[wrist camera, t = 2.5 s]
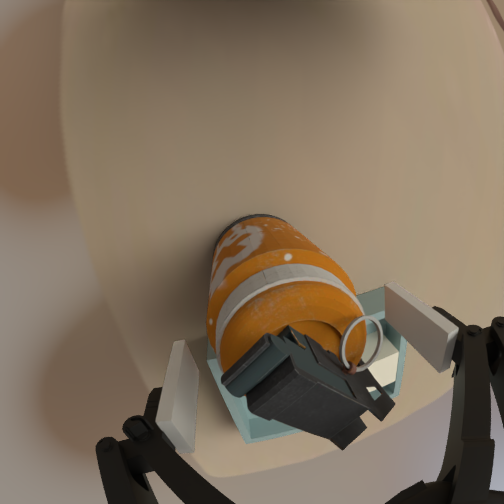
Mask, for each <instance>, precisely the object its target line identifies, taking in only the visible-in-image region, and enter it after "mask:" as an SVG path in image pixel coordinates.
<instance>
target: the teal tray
mask: <svg viewBox="0 0 504 504" xmlns="http://www.w3.org/2000/svg"><path fill="white" fill-rule="evenodd" d="M356 298H357V299H358V300H359V302H360V304H361V306H362V307H363V310H364V313H365V315H368V316H373V317H375V318H376V319H377V320H378V321H379V322H380V324H381V327H382V330H383V334H384V336H385V337H386V338H387V339H388V340H389V341H390V342H391V343H392V344H393V346H394V347H395V348H396V349H397V350H398V351H399V356H398V364H397V372H396V379H395V381H394V382H392V383H390V384H388V385H385V386H383V387H382V388H383V389H384V390H385V391H386V393H387V394H388V395H389V396H390V398H391V399H392V398H394V397H396V396H398V395H399V392H400V387H401V381H402V375H403V369H404V362H405V354H406V346H407V340H406V339H405V338H404V337H403V336H402V335H401V334H400V333H398V332H397V331H396V330H395V329H394V328H393V327H392V326H391V325H390V324H389V323H388V322H387V321H386V320H385V288H384V287H381V288H378V289H375V290H373V291H370V292H367V293H364V294H361V295H358V296H356ZM366 324H367V329H366V331H367V334H370V333H373V332H375V331H377V329H376V326H375V324H374V323H373V322H372V321H370V320H368V319H366ZM207 362H208V365H209V367H210V370H211V372H212V374H213V376H214V379H215V381H216V383H217V385H218V388H219V390H220V392H221V394H222V396H223V399H224V401H225V403H226V405H227V407H228V409H229V411H230V413H231V415H232V418H233V420H234V422H235V424H236V426H237V428H238V430H239V432H240V434H241V436H242V438H243V439H244V441H245V443H246V444H248V443H254V442H259V441H264V440H269V439H273V438H278V437H282V436H286V435H290V434H294V433H298V432H301V431H302V430H299V429H297V428H294V427H291V426H289V425H286V424H283V423H281V422H278V421H276V420H273V419H272V420H270V421H268V420H265V419H263V418H261V417H258V416H256V415H253V414H251V412H250V411H249V410H248V408H247V400H246V397H245V396H243V397H241V398H237V397H235V396H233V395H231V394H230V393H229V392H228V391H227V389H226V388H225V386H224V385H222V384H221V376H222V375H223V374H222V372H221V370H220V368H219V365H218V362H217V357H216V354H215V352H214V350H213V348H212V346H211V345H210V342H209V338H208V346H207ZM369 393H370V394H371V396H372V398H373V399H374V400H376V399H377V398H378V397H379V396H380V395H381V393H380V392H379V391H378V390H377V389H376V390H374V391H371V392H369Z"/></svg>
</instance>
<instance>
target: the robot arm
mask: <svg viewBox="0 0 504 504" xmlns="http://www.w3.org/2000/svg"><path fill="white" fill-rule="evenodd" d="M384 288H385V320H386V321H387V322H388V323H389V324H390V325H391V326H392V327H393V328H394V329H395V330H396V331H397V332H398V333H400V334H401V335H402V336H403V337H404V338H405V339H406V340H407V341H408V342H409V343H410V344H411V345H412V346H413V347H414V348H415V349H416V350H417V351H418V352H419V353H420V354H421V355H422V356H423V357H424V358H425V359H426V360H427V361H428V362H429V363H430V364H431V365H432V366H433V367H434V368H435V369H436V370H437V371H438V372H439V373H442V372H444V371H445V370H447V369H448V368H450V364H451V361H452V360H453V361H454V362H455V363H456V364H455V367H454V371H453V374H452V377H454V388H453V401H452V411H451V420H450V428H449V434H448V440H447V445H446V451H445V456H444V460H443V465H442V469H441V471H440V473H439V476H438V478H437V481H435V482H429V483H425V484H424V482H423V481H422V480H421V481H420V482H418V483H416V484H414V485H412V486H411V487H409V488H407V489H405V490H403V491H401V492H400V493H398V494H397V495H396V496H394V497H393V498H392V499H390V500H389V501H388V502H386V503H385V504H504V491H495V490H489V487H490V482H491V475H492V467H493V459H494V448H495V441H494V439H491V438H490V430H491V429H490V428H491V395H490V383H491V386H492V389H493V392H494V395H495V398H496V401H497V405H498V408H499V412H500V415H501V419H502V423H503V427H504V317H496V318H494V319H493V320H492V323H491V326H490V327H486V328H483V329H482V328H481V327H479V326H477V325H468V326H466V325H465V324H463V323H462V322H460V321H459V320H458V319H456V318H455V317H454V316H452V315H451V314H449V313H448V312H446V311H445V310H444V309H442V308H439V307H436V306H434V307H432V308H431V307H430V306H429V305H427V304H426V303H424V302H423V301H421V300H420V299H419V298H417V297H416V296H414V295H413V294H412V293H410V292H409V291H407V290H406V289H404V288H403V287H401V286H400V285H398V284H397V283H396V282H394V281H393V282H390V283H387V284H384ZM198 384H199V370H198V368H197V365H196V363H195V361H194V359H193V356H192V354H191V352H190V349H189V347H188V345H187V342H186V340H185V339H184V340H179V341H174V343H173V347H172V351H171V355H170V359H169V363H168V367H167V371H166V375H165V380H164V384H163V387H160V388H154V389H153V390H152V391H151V393H150V394H149V397H148V400H147V404H146V409H145V413H144V416H140V415H136V416H132V417H130V418H128V419H127V420H126V421H125V423H124V424H123V428H122V429H123V432H124V433H125V435H126V436H127V437H128V438H129V439H126V440H122V441H119V442H118V441H116V439H114V438H113V437H104V438H103V439H101V440H100V441H99V442H98V443H97V445H96V454H97V460H98V465H99V470H100V474H101V478H102V482H103V486H104V490H105V494H106V498H107V501H108V504H158V502H157V499H156V497H155V495H154V493H153V491H152V489H151V486H150V484H149V481H148V479H147V477H146V474H145V473H148V472H152V471H155V472H156V473H157V474H158V476H160V478H161V479H162V480H163V481H164V482H165V483H166V485H167V486H168V487H169V488H171V490H172V491H173V492H174V493H175V494H176V495H177V496H178V497H179V498H180V499H181V500H182V501H183V502H184V503H185V504H235V503H234V502H233V501H231V500H230V499H229V498H227V497H226V496H225V495H223V494H222V493H221V492H220V491H218V490H217V489H216V488H215V487H214V486H212V485H211V484H210V483H209V482H207V481H206V480H205V479H204V478H203V477H202V476H201V475H199V474H198V473H197V472H196V471H195V470H194V469H193V468H192V467H191V466H190V465H188V463H186V462H185V461H184V460H183V459H182V458H181V457H180V456H179V455H178V454H177V453H176V452H175V448H176V449H177V450H178V452H179V453H194V450H195V430H196V413H197V398H198Z"/></svg>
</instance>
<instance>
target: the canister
mask: <svg viewBox="0 0 504 504" xmlns="http://www.w3.org/2000/svg"><path fill="white" fill-rule="evenodd" d="M366 319H368V320H370V321H372V322H373V323H374V324H375V326H376V329H377V333H378V341H377V346H376V349H375V351H374V353H373V355H372V357H371V358H370V359H369V360H368V361H367V362H366V363H364V362H363V361H362V359H361V357H362V354H363V352H364V348H365V344H366V336H367V331H366V329H367V324H366ZM206 327H207V335H208V338H209V342H210V345H211V346H212V348H213V350H214V352H215V354H216V357H217V362H218V365H219V368H220V370H221V372H222V374H223V375H222V376H221V384H222V385H224V386H225V388H226V389H227V391H228V392H229V393H230V394H231V395H233V396H235V397H237V398H241V397H243V396H245V397H246V400H247V408H248V410H249V411H250V412H251V414H253V415H256V416H258V417H261V418H263V419H265V420H268V421H270V420H272V419H273V420H276V421H278V422H281V423H283V424H286V425H289V426H291V427H294V428H297V429H299V430H302V431H305V432H308V433H311V434H314V435H317V436H320V437H323V438H326V439H329V440H330V441H332V442H333V443H334V444H335V445H336V446H337V447H339V448H340V449H341V450H344V449H345V448H346V447H347V446H348V445H349V444H350V443H351V442H352V441H353V440H355V439H356V438H357V437H358V436H359V435H360V434H361V433H362V432H363V431H364V430H365V429H366V428H367V427H366V425H365V424H364V422H363V421H362V420H361V418H360V417H359V416H361V415H362V414H363V413H364V412H366V411H367V410H369V411H370V412H371V413H372V414H373V415H374V416H375V417H377V418H378V419H379V420H380V421H383V419H384V418H385V417H386V415H387V414H388V413H389V412H390V411H391V409H392V408H393V407H394V405H395V403H394V401H393V400H392V399H391V398H390V396H389V395H388V394H387V393H386V391H385V390H384V389H383V388H382V387H381V385H380V384H379V383H378V382H377V380H376V379H375V378H374V377H373V375H372V374H371V372H370V371H369V369H368V367H369V366H371V365H372V363H373V362H374V361H375V360H376V358H377V357H378V355H379V353H380V350H381V347H382V342H383V330H382V327H381V324H380V322H379V321H378V320H377V319H376V318H375V317H373V316H368V315H365V313H364V310H363V307H362V306H361V304H360V302H359V300H358V299H357V298H356V292H355V289H354V286H353V284H352V282H351V280H350V278H349V277H348V275H347V274H346V272H345V271H344V270H343V269H342V268H341V267H340V266H339V265H338V264H337V263H336V262H335V261H333V260H332V259H331V258H330V257H329V256H327V255H326V254H325V253H324V252H323V251H321V250H320V249H319V248H318V247H317V246H316V245H314V244H313V243H312V242H311V241H309V240H308V239H307V238H306V237H305V236H303V235H302V234H301V233H300V232H298V231H297V230H296V229H295V228H293V227H292V226H291V225H290V224H288V223H287V222H286V221H284V220H282V219H280V218H278V217H275V216H272V215H266V214H255V215H249V216H246V217H243V218H241V219H239V220H237V221H235V222H234V223H232V224H231V225H230V226H228V227H227V228H226V229H225V230H224V232H223V233H222V234H221V236H220V237H219V239H218V241H217V243H216V246H215V249H214V255H213V263H212V272H211V281H210V290H209V300H208V310H207V320H206ZM366 387H375V388H376V389H377V390H378V391H379V392H380V393H381V395H380V396H379V397H378V398H377V399H376V400H374V399H373V398H372V396H371V394H370V393H369V391H368V389H367V388H366Z"/></svg>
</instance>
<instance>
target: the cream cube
mask: <svg viewBox="0 0 504 504" xmlns="http://www.w3.org/2000/svg"><path fill="white" fill-rule="evenodd" d="M377 341H378V333H377V331H375V332H373V333H370V334H367V336H366V344H365V348H364V352H363V354H362V357H361V359H362V361H363V362H364V363H366V362H367V361H368V360H369V359H370V358H371V357H372V355H373V353H374V351H375V349H376V346H377ZM398 356H399V351H398V350H397V349H396V348H395V347H394V346H393V344H392V343H391V342H390V341H389V340H388V339H387V338H386V337H385V336H384V334H383V342H382V347H381V350H380V353H379V355H378V357H377V358H376V360H375V361H374V362H373V363H372V365H371V366H369V367H368V369H369V371H370V372H371V374H372V375H373V377H374V378H375V379H376V380H377V382H378V383H379V384H380V385H381V387H383V386H385V385H388V384H390V383H392V382H394V381H395V379H396V372H397V364H398ZM366 388H367V389H368V391H369V392H371V391H374V390H376V388H375V387H366Z"/></svg>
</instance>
